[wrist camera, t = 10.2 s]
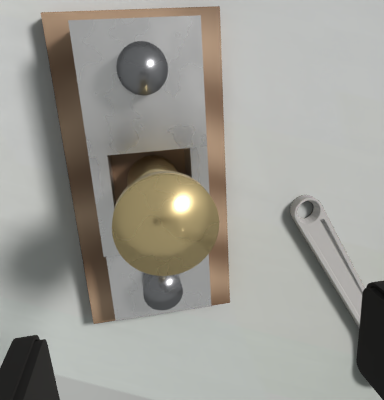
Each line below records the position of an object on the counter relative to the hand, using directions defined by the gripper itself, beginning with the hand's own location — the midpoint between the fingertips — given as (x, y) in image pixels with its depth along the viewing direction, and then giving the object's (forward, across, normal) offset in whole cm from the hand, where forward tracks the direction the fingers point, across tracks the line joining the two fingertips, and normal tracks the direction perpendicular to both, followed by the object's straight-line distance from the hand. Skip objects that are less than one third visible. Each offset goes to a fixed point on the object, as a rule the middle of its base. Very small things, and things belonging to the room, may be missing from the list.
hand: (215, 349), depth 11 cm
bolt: (+19, 0, 0) cm, 19 cm away
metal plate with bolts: (+19, +1, 0) cm, 19 cm away
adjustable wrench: (+21, -19, +14) cm, 31 cm away
